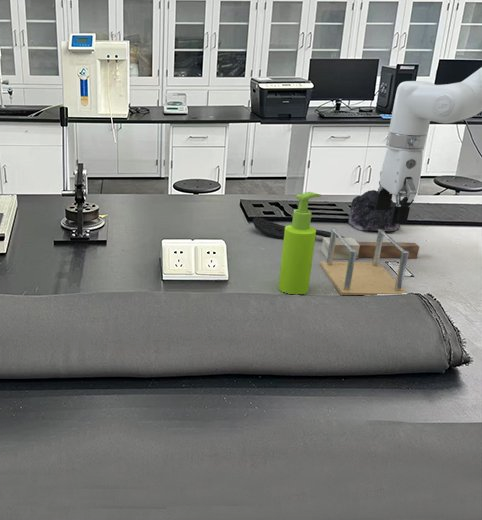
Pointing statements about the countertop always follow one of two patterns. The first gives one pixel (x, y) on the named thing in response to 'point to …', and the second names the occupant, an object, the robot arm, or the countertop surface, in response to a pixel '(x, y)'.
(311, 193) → the soap dispenser
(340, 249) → the cleaning brush
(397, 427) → the countertop surface
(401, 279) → the wire rack
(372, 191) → the crystal cluster
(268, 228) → the hairbrush
